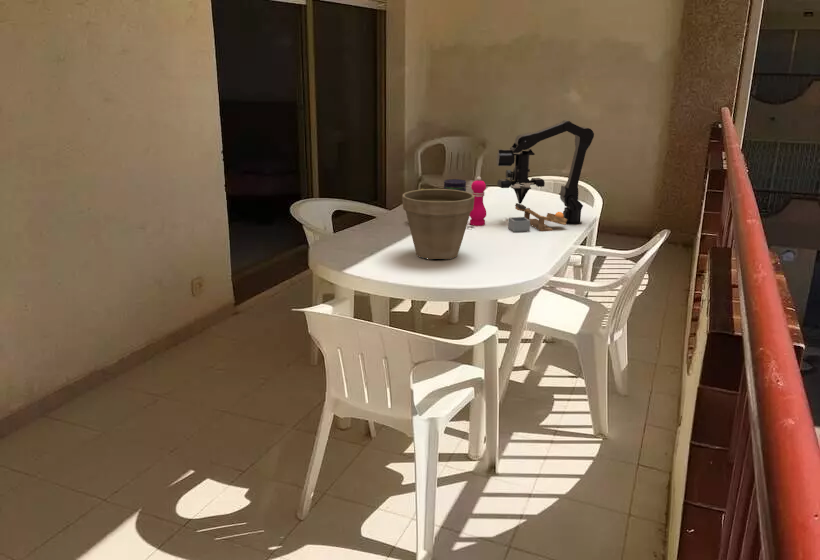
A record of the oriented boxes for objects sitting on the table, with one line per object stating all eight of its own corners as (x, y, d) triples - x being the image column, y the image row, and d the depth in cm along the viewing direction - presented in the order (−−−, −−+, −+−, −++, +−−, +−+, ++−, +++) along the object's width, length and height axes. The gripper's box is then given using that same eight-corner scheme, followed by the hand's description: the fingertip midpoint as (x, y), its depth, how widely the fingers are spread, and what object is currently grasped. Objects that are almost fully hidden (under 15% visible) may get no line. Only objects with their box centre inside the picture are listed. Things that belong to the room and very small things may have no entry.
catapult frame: (535, 220, 284) (536, 207, 283) (552, 230, 268) (553, 217, 266) (523, 221, 283) (524, 208, 282) (539, 231, 267) (540, 217, 265)
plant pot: (431, 241, 252) (432, 184, 245) (486, 253, 237) (488, 193, 230) (387, 256, 233) (387, 195, 226) (444, 269, 218) (445, 205, 212)
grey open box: (523, 227, 272) (524, 216, 271) (529, 231, 266) (530, 220, 265) (508, 228, 271) (508, 217, 270) (513, 232, 265) (514, 221, 263)
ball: (558, 220, 273) (563, 213, 272) (562, 222, 269) (566, 214, 269) (551, 217, 271) (556, 209, 271) (555, 219, 268) (559, 211, 268)
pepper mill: (485, 226, 274) (487, 178, 268) (467, 225, 275) (469, 177, 269) (486, 222, 281) (488, 175, 274) (469, 221, 282) (471, 174, 276)
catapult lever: (549, 216, 284) (551, 210, 283) (565, 225, 268) (567, 219, 268) (514, 208, 279) (516, 202, 279) (528, 216, 264) (530, 210, 264)
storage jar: (465, 212, 299) (466, 179, 294) (465, 217, 290) (466, 183, 285) (443, 211, 300) (444, 179, 295) (442, 216, 291) (443, 182, 286)
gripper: (536, 162, 281) (533, 198, 286) (493, 163, 278) (492, 200, 283) (546, 166, 271) (543, 204, 276) (502, 167, 267) (500, 205, 272)
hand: (519, 203), depth 277 cm, fingers closed
